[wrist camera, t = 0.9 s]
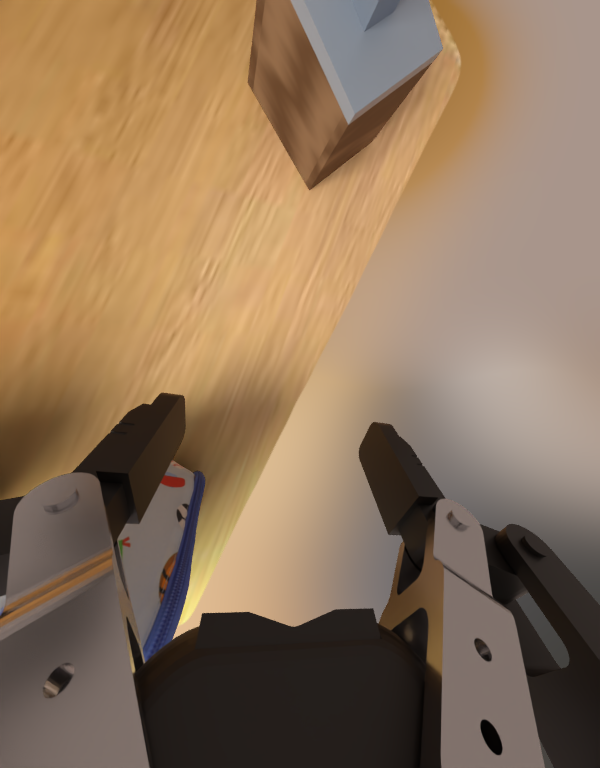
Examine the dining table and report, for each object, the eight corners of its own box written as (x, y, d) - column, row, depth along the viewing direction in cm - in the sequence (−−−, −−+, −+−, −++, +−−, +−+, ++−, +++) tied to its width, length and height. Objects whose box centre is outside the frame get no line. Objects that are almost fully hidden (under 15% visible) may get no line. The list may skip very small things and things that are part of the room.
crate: (247, 82, 24) (263, -59, 15) (323, 33, 25) (374, -121, 17) (309, 190, 27) (348, 125, 19) (371, 142, 29) (433, 61, 21)
